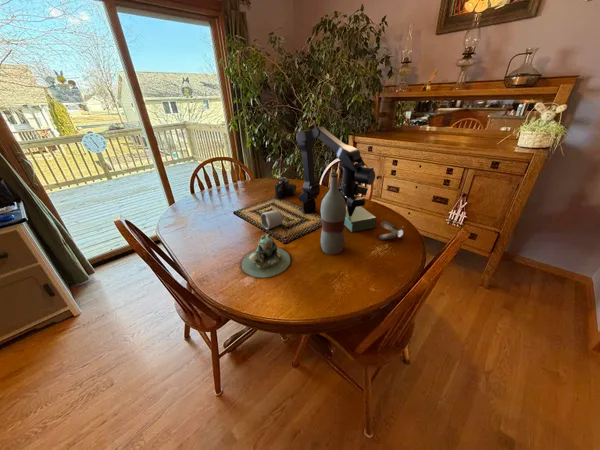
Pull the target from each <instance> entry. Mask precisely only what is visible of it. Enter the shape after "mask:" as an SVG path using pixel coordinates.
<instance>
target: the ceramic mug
mask: <svg viewBox="0 0 600 450" xmlns="http://www.w3.org/2000/svg"><path fill="white" fill-rule="evenodd" d="M260 221H261V225H262V226H263V228H264V229H265V230H270V229H273V228H276V227H278V226H280V225H282V224H283V222H284V217H283V214H282V212H281V211H280V210H270V211H267V212H262V213H261V214H260Z"/></svg>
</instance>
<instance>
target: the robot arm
mask: <svg viewBox="0 0 600 450" xmlns="http://www.w3.org/2000/svg"><path fill="white" fill-rule="evenodd" d="M295 138H296V144H297V147H298V148H299V150H300V151H301V156H302V157H301V158H302V167H303V176H304V178H303V179H304V183H303V186H302V189H301V191H302V193H301V194H300V195H299V196H298V200H299V202H300V203H301V208H300V210H301V211H302V212H303V214H304V215H305V214H311V213H316V212H317V210H316V209H317V201H316V199H317V198H318V196H319V195H320V192H321V187H320V183H318V182H317V181H316V178H315V166H314V155H313V149H314V146H315V144H316V139H318V140H319V141H320V142H322V143H323V144H324V145H325V146H326V147H327V148H329V149H330V150H332V151H333V152H334V153H335V155H336V157H337V158H338V160H339V161H340V162H341V164H340V165H339V166H338V169H340V170H342V181H340V185H338V190H339V192H340V193H341V195H342V196H343V198H344V200H345V203H346V207H347V210H348V214H349V216H352V214H353V212H354V210H355V208H356V207H358V206H361V207H364V206H366V200H365V199H364V198H363V197H361V196H360V195H362V196H367V193H368V190H369V188H368V187H367V186H364V185H368V186H372V185H373V184H374V182H375V180H376V172H375V170H374V167H373V166H366V164H365V162H364V159H363V158H362V156H361V152H360V150H359V149H358V148H356V147H354V146H352V145H350V144H346V143H344V142H343V141H341V140H340V139H339V138H337V137H336V136H335V135H333V134H332V133H331V132H330V131H329V130H327V129H326V127H324V126H316V127H314V128H312V129H303V130H299V131H297V133H296V135H295ZM362 184H363V185H362Z"/></svg>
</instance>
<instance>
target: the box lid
mask: <svg viewBox="0 0 600 450" xmlns="http://www.w3.org/2000/svg"><path fill="white" fill-rule="evenodd" d="M345 219H346V220H347V221H348V222H349V223H351V224H352V223H357V222H362V221H368V220H373V219H376V220H377V216H375V215H374V214H372V213H370V211H368V210H366V209H365V208H364V207H363V206H358V207H356V208H355V210H354V212H353V214H352V216H349V214H348V210H347V207H346V216H345Z"/></svg>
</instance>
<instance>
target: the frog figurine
mask: <svg viewBox="0 0 600 450" xmlns="http://www.w3.org/2000/svg"><path fill="white" fill-rule="evenodd" d="M274 240H275V239H274V238H273V237H272V236H271V235H270V234H269V233H268V234H266V235H261V237H260V239H259V242H258V244H257V248H256V249H254V250H252V251H250V252H248V253H247V254H246V255H245V256H244V257H243V259H242V260H241V261H242V262H241V268H242V271H243V272H244V273H245V274H247V275H249V276H251V277H254V278H261V279H262V278H271V277H274V276H277V275H279V274H281V273H283V272H284V271H286V269H287V268H289V266H290V264H291V256H290V254H289V253H288V252H287V251H286V250H284V249H283V248H279V247H278V244H276V241H274Z"/></svg>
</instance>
